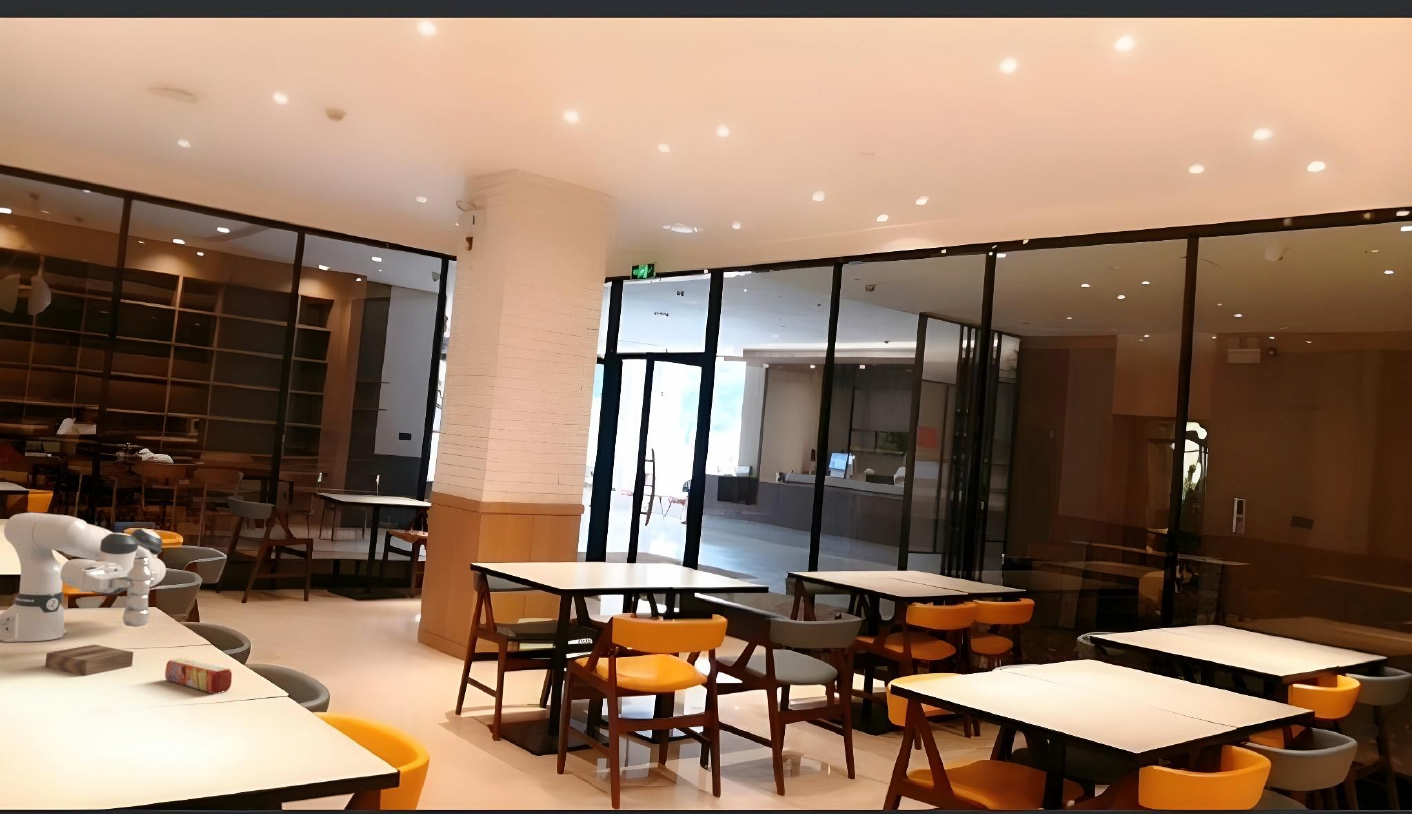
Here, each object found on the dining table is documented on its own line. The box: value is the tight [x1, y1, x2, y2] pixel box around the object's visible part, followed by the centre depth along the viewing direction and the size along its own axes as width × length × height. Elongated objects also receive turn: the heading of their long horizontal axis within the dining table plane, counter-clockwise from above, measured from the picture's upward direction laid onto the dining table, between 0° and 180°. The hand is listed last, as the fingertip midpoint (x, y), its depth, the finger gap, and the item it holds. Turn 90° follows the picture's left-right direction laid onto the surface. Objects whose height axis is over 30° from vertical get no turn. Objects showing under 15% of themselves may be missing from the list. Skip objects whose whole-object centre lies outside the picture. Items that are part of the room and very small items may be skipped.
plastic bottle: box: [122, 557, 152, 628], centre depth 275 cm, size 6×7×20 cm
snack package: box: [164, 657, 233, 694], centre depth 256 cm, size 21×7×7 cm, turn 61°
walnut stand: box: [45, 644, 134, 676], centre depth 268 cm, size 16×14×4 cm
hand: (141, 582), depth 275 cm, fingers closed on plastic bottle, 6 cm apart
